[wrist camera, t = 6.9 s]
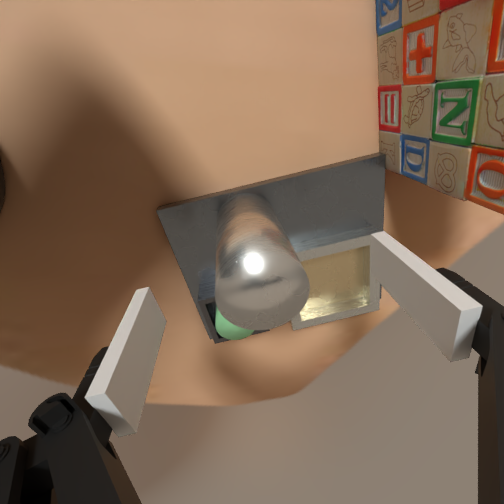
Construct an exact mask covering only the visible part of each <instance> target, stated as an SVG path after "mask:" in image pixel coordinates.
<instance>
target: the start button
mask: <svg viewBox="0 0 504 504" xmlns="http://www.w3.org/2000/svg"><path fill="white" fill-rule="evenodd" d="M215 326H216V330H217V332H218V333H219V335H221V336H222V337H224V338H226V339H230V340H239V339H243V338H246V337H248V336H249V335H251V334H252V333H253V332H254V330H248V329H244V328H241V327H238V326H236V325H233V324H232V323H230V322H229V321H228V320H226V319H225V318H224V317H223V316H222V314H221V313H220V311H219V310H218V308H217V305H216V323H215Z"/></svg>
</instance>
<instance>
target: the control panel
mask: <svg viewBox="0 0 504 504" xmlns="http://www.w3.org/2000/svg"><path fill="white" fill-rule="evenodd" d="M385 159H386V154H383V153H375V154H371V155H367V156H363V157H359V158H355V159H351V160H347V161H342V162H338V163H334V164H330V165H326V166H322V167H318V168H314V169H310V170H306V171H302V172H298V173H294V174H290V175H286V176H282V177H277V178H273V179H269V180H265V181H261V182H257V183H253V184H249V185H245V186H241V187H237V188H233V189H229V190H225V191H221V192H217V193H212V194H208V195H204V196H200V197H196V198H192V199H188V200H184V201H180V202H176V203H172V204H168V205H164V206H160V207H158V209H157V210H156V212H157V214H158V216H159V219H160V221H161V223H162V226H163V228H164V231H165V233H166V235H167V238H168V240H169V243H170V245H171V247H172V250H173V252H174V254H175V257H176V259H177V262H178V264H179V266H180V269H181V271H182V273H183V276H184V278H185V281H186V283H187V285H188V288H189V290H190V293H191V295H192V297H193V300H194V302H195V304H196V307H197V309H198V312H199V314H200V316H201V319H202V321H203V324H204V326H205V328H206V331H207V333H208V335H209V338H210V339H213V340H214V342H215V344H216V343H220V342H224V341H228V340H230V339H226V338H224V337H222V336H221V335H219V333H218V332H217V330H216V326H215V323H216V301H215V274H216V232H217V216H218V212H219V210H220V208H221V207H222V205H223V204H224V203H225V202H226V201H227V200H228V199H230V198H231V197H233V196H235V195H238V194H243V193H250V194H256V195H258V196H261V197H263V198H264V199H265V200H267V201H268V202H269V204H270V205H271V206H272V208H273V210H274V212H275V214H276V216H277V218H278V220H279V221H280V223H281V225H282V227H283V229H284V231H285V233H286V235H287V237H288V239H289V241H290V243H291V245H292V247H293V249H294V251H295V253H296V255H297V257H298V258H299V260H300V262H301V264H302V266H303V268H304V270H305V272H306V274H307V276H308V279H309V284H310V292H309V297H308V300H307V302H306V304H305V306H304V308H303V309H302V310H301V311H300V313H299V314H298V315H297V316H295V317H294V318H293V319H292V320H290V322H291V325H292V329H293V330H298V329H302V328H306V327H310V326H314V325H319V324H323V323H327V322H331V321H335V320H339V319H344V318H348V317H352V316H356V315H360V314H365V313H369V312H373V311H377V310H379V300H380V299H381V284H380V283H379V282H378V281H377V280H376V279H375V277H374V276H373V275H372V274H371V234H373V233H377V232H382V231H383V222H384V191H385ZM266 331H270V330H269V329H267V330H254V332H253V333H252V334H251V335H253V334H258V333H262V332H266Z"/></svg>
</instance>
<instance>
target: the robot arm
mask: <svg viewBox="0 0 504 504" xmlns="http://www.w3.org/2000/svg"><path fill="white" fill-rule="evenodd" d="M4 196H5V180H4V173H3V168H2V164H1V161H0V212H1V209H2V206H3V202H4ZM371 274H372V275H373V276H374V277H375V279H376V280H377V281H378V282H379V283H380V284H381V285H382V286H383V287H384V289H385V290H386V291H387V292H388V293H389V294H390V295H391V296H392V298H393V299H394V300H395V301H396V302H397V303H398V304H399V305H400V306H401V308H402V309H403V310H404V311H405V312H406V313H407V314H408V315H409V316H410V318H411V319H412V320H413V321H414V322H415V323H416V324H417V325H418V327H419V328H420V329H421V330H422V331H423V332H424V333H425V334H426V335H427V336H428V338H429V339H430V340H431V341H432V342H433V343H434V344H435V345H436V347H437V348H438V349H439V350H440V351H441V352H442V353H443V354H444V356H446V358H447V359H448V360H449V361H450V362H453V361H457V360H462V359H466V358H469V356H470V353H471V349H472V348H473V349H474V350H475V351H476V352H477V353H478V354H479V355H480V357H479V361H478V364H477V367H476V371H475V373H476V374H478V379H479V380H478V504H504V306H502V305H501V304H499V303H498V302H496V301H495V300H493V299H492V298H491V297H489V296H488V295H486V294H485V293H484V292H482V291H481V290H479V289H478V288H477V287H475V286H473V285H472V284H471V283H469V282H468V281H465V279H464V278H462V277H461V276H460V275H458V274H457V273H455V272H453V271H450V270H447V269H445V268H439V269H433V268H432V267H431V266H429V265H428V264H427V263H425V262H424V261H423V260H421V259H420V258H419V257H418V256H416V255H415V254H414V253H412V252H411V251H410V250H408V249H407V248H406V247H404V246H403V245H402V244H400V243H399V242H398V241H397V240H395V239H394V238H393V237H391V236H390V235H389V234H387V233H386V232H385V231H382V232H377V233H373V234H371ZM165 325H166V319H165V317H164V315H163V313H162V311H161V309H160V307H159V305H158V303H157V301H156V299H155V297H154V295H153V293H152V291H151V289H150V287H146V288H142V289H137V290H136V292H135V294H134V296H133V298H132V300H131V302H130V304H129V306H128V308H127V310H126V313H125V315H124V317H123V319H122V321H121V323H120V325H119V327H118V329H117V331H116V333H115V335H114V337H113V340H112V342H111V344H110V346H108V347H104V348H102V349H101V350H100V351H99V352H98V353H97V355H96V356H95V357H94V358H93V360H92V362H91V364H90V366H89V369H88V370H87V372H86V374H85V377H84V378H83V379H82V381H81V383H80V385H79V387H78V389H77V391H76V393H75V395H74V397H73V399H71V398H70V397H69V396H68V395H67V394H66V393H58V394H56V395H53V396H51V397H49V398H48V399H46V400H45V401H44V402H43V403H41V404H40V405H39V406H38V407H37V408H36V410H35V411H34V412H33V413H32V415H31V417H30V419H29V423H28V426H29V427H30V428H31V429H32V430H34V431H35V432H36V433H37V435H35V436H33V437H31V438H29V439H27V440H25V441H21V440H20V439H19V438H17V437H16V436H11V437H8V438H5V439H3V440H1V441H0V504H142V503H141V501H140V499H139V497H138V495H137V493H136V491H135V489H134V487H133V485H132V483H131V481H130V479H129V477H128V475H127V473H126V471H125V469H124V467H123V465H122V463H121V461H120V459H119V457H118V455H117V453H116V451H115V449H114V447H113V445H112V443H111V442H110V441H109V437H110V434H111V432H112V430H113V431H114V432H115V434H116V435H117V436H118V437H122V436H126V435H130V434H135V433H137V429H138V425H139V422H140V418H141V415H142V410H143V407H144V403H145V400H146V396H147V392H148V388H149V385H150V381H151V377H152V373H153V370H154V366H155V362H156V359H157V355H158V351H159V347H160V344H161V340H162V336H163V332H164V329H165Z"/></svg>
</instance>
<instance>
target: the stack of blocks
mask: <svg viewBox="0 0 504 504" xmlns="http://www.w3.org/2000/svg"><path fill="white" fill-rule="evenodd" d="M376 23H377V35H378V39H377V47H378V77H379V87H378V108H379V152H380V153H383V154H386V159H385V169H387V170H390V171H392V172H395V173H397V174H400V175H401V174H402V175H404V176H406V177H409V178H411V179H414V180H416V181H418V182H421V183H423V184H425V185H428V186H429V187H431V188H433V189H436V190H437V191H440V192H442V193H445V194H447V195H450V196H452V197H454V198H458V199H460V200H463V201H466V200H469V201H471V202H474V203H476V204H478V205H481V206H483V207H486V208H488V209H491V210H493V211H496V212H498V213H501V214H503V215H504V0H376Z"/></svg>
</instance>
